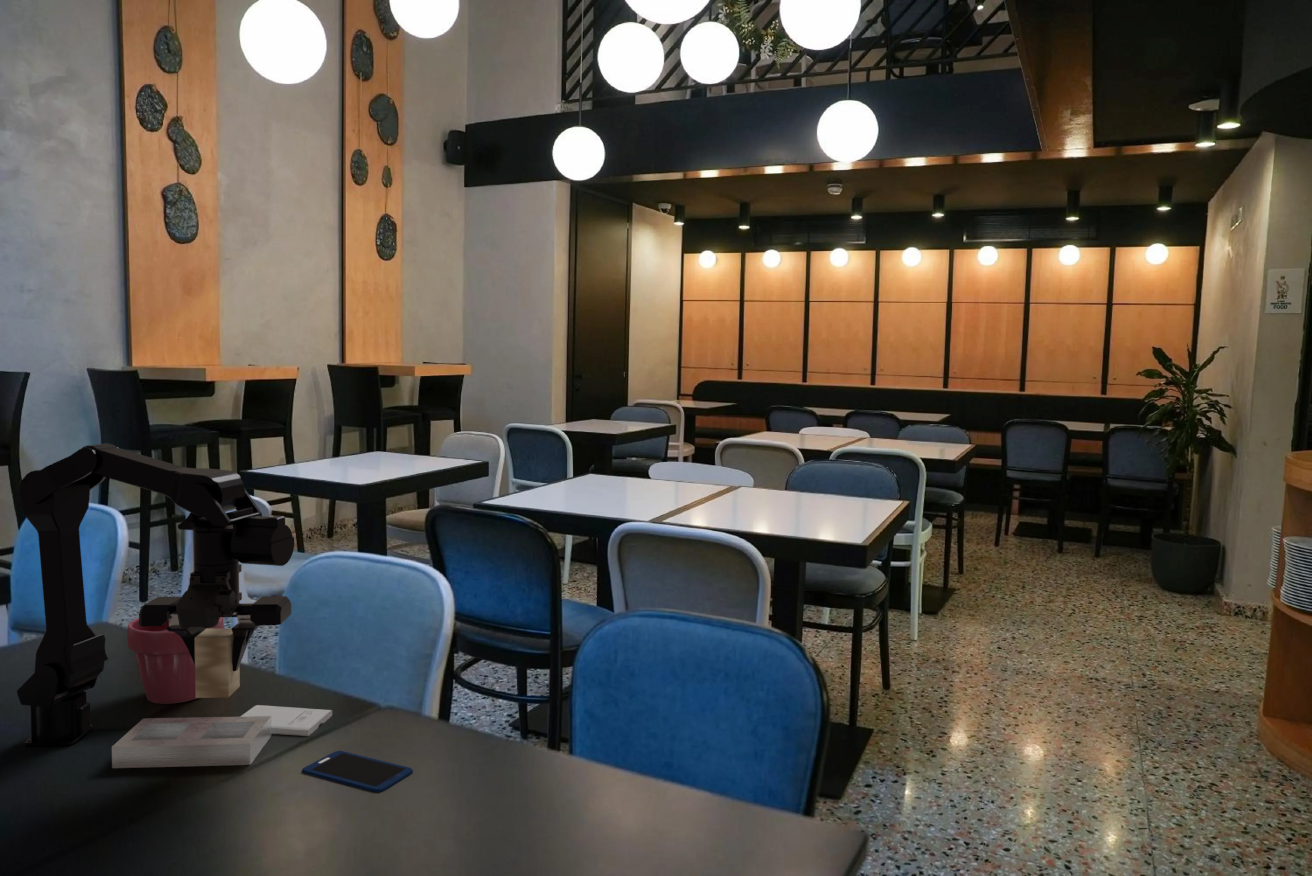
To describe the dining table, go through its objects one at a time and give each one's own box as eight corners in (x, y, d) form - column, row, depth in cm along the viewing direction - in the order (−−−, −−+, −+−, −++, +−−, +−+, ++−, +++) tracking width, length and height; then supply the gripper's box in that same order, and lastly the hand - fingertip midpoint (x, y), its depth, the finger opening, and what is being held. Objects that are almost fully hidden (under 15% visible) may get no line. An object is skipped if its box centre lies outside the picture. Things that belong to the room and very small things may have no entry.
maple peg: (195, 697, 127) (194, 637, 126) (207, 686, 131) (206, 628, 130) (228, 697, 127) (227, 637, 127) (239, 686, 132) (238, 628, 131)
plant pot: (109, 698, 149) (108, 621, 148) (189, 674, 162) (188, 603, 161) (163, 717, 143) (162, 636, 142) (242, 690, 155) (242, 616, 154)
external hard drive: (257, 713, 146) (332, 718, 145) (229, 734, 138) (308, 739, 137) (257, 703, 146) (332, 708, 145) (229, 723, 138) (308, 728, 137)
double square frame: (112, 767, 125) (111, 746, 124) (143, 738, 135) (143, 718, 134) (250, 764, 127) (250, 743, 127) (271, 735, 137) (271, 715, 137)
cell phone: (337, 754, 132) (337, 749, 132) (415, 773, 127) (415, 768, 126) (299, 774, 125) (299, 769, 125) (379, 796, 120) (380, 790, 120)
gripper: (118, 574, 119) (121, 691, 120) (267, 574, 121) (268, 689, 122) (155, 556, 130) (158, 664, 131) (291, 556, 132) (292, 662, 133)
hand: (218, 670), depth 129 cm, fingers closed on maple peg, 4 cm apart
